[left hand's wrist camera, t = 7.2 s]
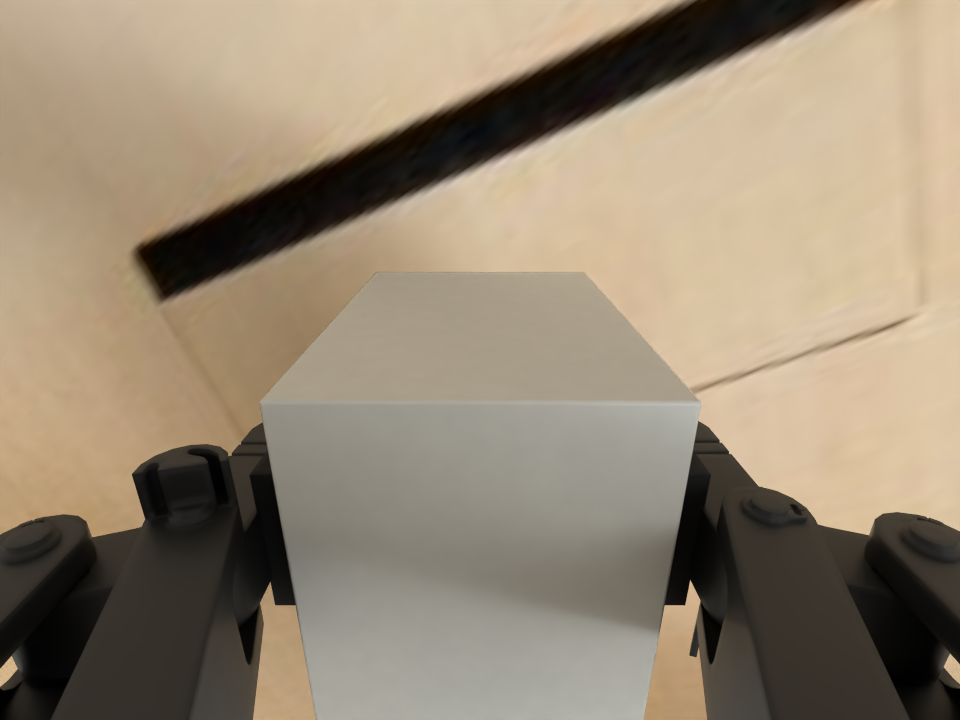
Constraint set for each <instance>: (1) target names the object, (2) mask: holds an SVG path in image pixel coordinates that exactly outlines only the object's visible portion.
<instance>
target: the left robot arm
mask: <svg viewBox="0 0 960 720" xmlns="http://www.w3.org/2000/svg"><path fill="white" fill-rule="evenodd" d="M719 441H720V440H719V439H718V438H717V437H716V436H715V434H714V433H713V432H712V431H711V430H710V428H709V427H707V426H706V425H704V424H702V423H701V422H699V421H698V425H697V430H696V435H695V441H694V446H693V452H692V457H691V463H690V468H689V474H688V479H687V485H686V490H685V496H684V501H683V507H682V512H681V518H680V523H679V528H678V534H677V539H676V545H675V550H674V556H673V561H672V567H671V572H670V578H669V583H668V589H667V594H666V600H665V605H685V603H686V598H687V593H688V588H689V583H690V580H691V582H692V584H693V586H694V588H695V590H696V592H697V594H698V596H699V598H700V600H701V601H700V606H699V611H698V615H697V620H696V625H695V629H694V634H693V638H692V643H691V649H690V656H694V657H697V652H698V648H699V650H700V659H701V668H702V677H703V685H704V694H705V703H706V712H707V720H960V684H959V683H958V682H957V681H956V680H954V679H953V678H952V677H951V675H950V674H949V673H948V672H947V671H946V669H945V668H944V665H945V662H946V660H947V658H948V656H949V654H951V655H952V656H953V657H954V658H955V659H956V660H957V661H958V663H959V664H960V531H958V530H955V529H953V528H951V527H949V526H947V525H945V524H943V523H942V522H940V521H937V520H934V519H931V518H929V519H928V518H927V517H924V516H920V515H914V514H906V513H899V512H895V513H886V514H882V515H881V516H879V517H878V518H876V519H875V521H874V524H873V526H872V529H871V532H870V535H864V534H859V533H854V532H849V531H844V530H839V529H834V528H829V527H825V526H821V525H818V524H817V522H816V520H815V518H814V517H813V516H812V514H811V513H810V512H809V511H808V509H807V508H806V507H804V506H803V505H802V504H800V503H799V502H797V501H796V500H794V499H793V498H791V497H789V496H786V495H784V494H782V493H780V492H778V491H775V490H771V489H767V488H763V487H759V486H758V485H757V484H756V483H755V482H754V481H753V479H752V478H751V477H750V476H749V475H748V473H747V472H746V471H745V470H744V469H743V468H742V466H741V465H740V464H739V463H738V462H737V460H736V459H735V458H734V457H733V456H732V455H731V454H729V451H728V450H727V449H726V447H725V446H724V445H723V444H722V443H720V442H719ZM132 476H133V480H134V483H135V486H136V490H137V493H138V496H139V499H140V503H141V506H142V509H143V513H144V516H145V521H144V523H143V525H142V527H140V528H136V529H132V530H127V531H122V532H117V533H112V534H107V535H102V536H97V537H92V536H91V533H90V531H89V528H88V525H87V522H86V521H85V520H83V519H82V518H80V517H79V516H73V515H56V516H49V517H42V518H38V519H35V520H34V521H32V520H31V521H28V522H25V523H22V524H20V525H19V526H17V527H15V528H13V529H11V530H9V531H7V532H5V533H2V534H1V535H0V668H1V667H2V666H3V665H4V664H5V662H6V661H7V660H8V659H9V658H10V657H11V656H12V657H13V659H14V661H15V663H16V665H17V668H18V670H17V671H16V672H15V673H14V674H13V675H12V677H11V678H10V679H9V680H8V681H7V682H6V683H4V684H3V685H2V686H1V687H0V720H253V713H254V705H255V696H256V687H257V678H258V669H259V660H260V652H261V643H262V634H263V625H264V622H263V616H262V611H261V606H260V601H261V599H262V597H263V595H264V593H265V591H266V589H267V587H268V585H269V583H270V581H271V586H272V591H273V596H274V601H275V605H296V604H295V598H294V593H293V587H292V582H291V576H290V570H289V565H288V559H287V554H286V548H285V543H284V537H283V531H282V526H281V520H280V515H279V509H278V503H277V498H276V492H275V487H274V481H273V476H272V470H271V464H270V459H269V453H268V448H267V442H266V436H265V431H264V425H263V423H261V424H259V425H258V426H256V427H254V428H253V429H252V430H251V431H250V432H249V433H248V435H247V436H246V437H245V438H244V439H243V441H242V442H241V445H238V447H237V448H236V449H235V450H234V451H233V453H232V456H229V457H228V452H226V451H225V450H224V449H222V448H221V447H218V446H213V445H208V444H204V445H189V446H185V447H180V448H175V449H172V450H169V451H166V452H164V453H161V454H159V455H156V456H154V457H153V458H151V459H149V460H148V461H146V462H144V463H143V464H141V465H140V466H139V467H138V468H137V469H136V470H135V471H134V472H133V474H132Z"/></svg>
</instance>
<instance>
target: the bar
mask: <svg viewBox="0 0 960 720" xmlns="http://www.w3.org/2000/svg"><path fill="white" fill-rule="evenodd" d="M700 408H701V402H700V400H699V399H698V398H697V397H696V396H695V395H694V393H693V392H692V391H691V390H690V389H689V388H688V387H687V386H686V385H685V383H684V382H683V381H682V380H681V379H680V378H679V377H678V376H677V375H676V373H675V372H674V371H673V370H672V369H671V368H670V367H669V366H668V364H667V363H666V362H665V361H664V360H663V359H662V358H661V357H660V356H659V354H658V353H657V352H656V351H655V350H654V349H653V348H652V347H651V346H650V344H649V343H648V342H647V341H646V340H645V339H644V338H643V337H642V336H641V334H640V333H639V332H638V331H637V330H636V329H635V328H634V327H633V326H632V324H631V323H630V322H629V321H628V320H627V319H626V318H625V317H624V316H623V314H622V313H621V312H620V311H619V310H618V309H617V308H616V307H615V306H614V304H613V303H612V302H611V301H610V300H609V299H608V298H607V297H606V296H605V294H604V293H603V292H602V291H601V290H600V289H599V288H598V287H597V286H596V284H595V283H594V282H593V281H592V280H591V279H590V278H589V277H588V276H587V274H586V273H584V272H376V273H375V274H374V275H373V276H372V278H371V279H370V280H369V281H368V282H367V283H366V284H365V285H364V286H363V287H362V289H361V290H360V291H359V292H358V293H357V294H356V295H355V296H354V297H353V299H352V300H351V301H350V302H349V303H348V304H347V305H346V306H345V307H344V308H343V310H342V311H341V312H340V313H339V314H338V315H337V316H336V317H335V318H334V320H333V321H332V322H331V323H330V324H329V325H328V326H327V327H326V328H325V329H324V331H323V332H322V333H321V334H320V335H319V336H318V337H317V338H316V339H315V341H314V342H313V343H312V344H311V345H310V346H309V347H308V348H307V349H306V350H305V352H304V353H303V354H302V355H301V356H300V357H299V358H298V359H297V360H296V362H295V363H294V364H293V365H292V366H291V367H290V368H289V369H288V370H287V371H286V373H285V374H284V375H283V376H282V377H281V378H280V379H279V380H278V381H277V383H276V384H275V385H274V386H273V387H272V388H271V389H270V390H269V391H268V392H267V394H266V395H265V396H264V397H263V398H262V399H261V401H260V409H261V414H262V420H263V425H264V431H265V436H266V442H267V448H268V453H269V459H270V464H271V470H272V476H273V481H274V487H275V492H276V498H277V503H278V509H279V515H280V520H281V526H282V531H283V537H284V543H285V548H286V554H287V559H288V565H289V570H290V576H291V582H292V587H293V593H294V598H295V604H296V609H297V615H298V621H299V626H300V632H301V637H302V643H303V649H304V654H305V660H306V665H307V671H308V676H309V682H310V688H311V693H312V699H313V704H314V710H315V716H316V720H644V714H645V709H646V703H647V698H648V693H649V687H650V682H651V676H652V671H653V665H654V660H655V654H656V649H657V643H658V638H659V632H660V627H661V621H662V616H663V610H664V605H665V600H666V594H667V589H668V583H669V578H670V572H671V567H672V561H673V556H674V550H675V545H676V539H677V534H678V528H679V523H680V518H681V512H682V507H683V501H684V496H685V490H686V485H687V479H688V474H689V468H690V463H691V457H692V452H693V446H694V441H695V435H696V430H697V425H698V419H699V414H700Z"/></svg>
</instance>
